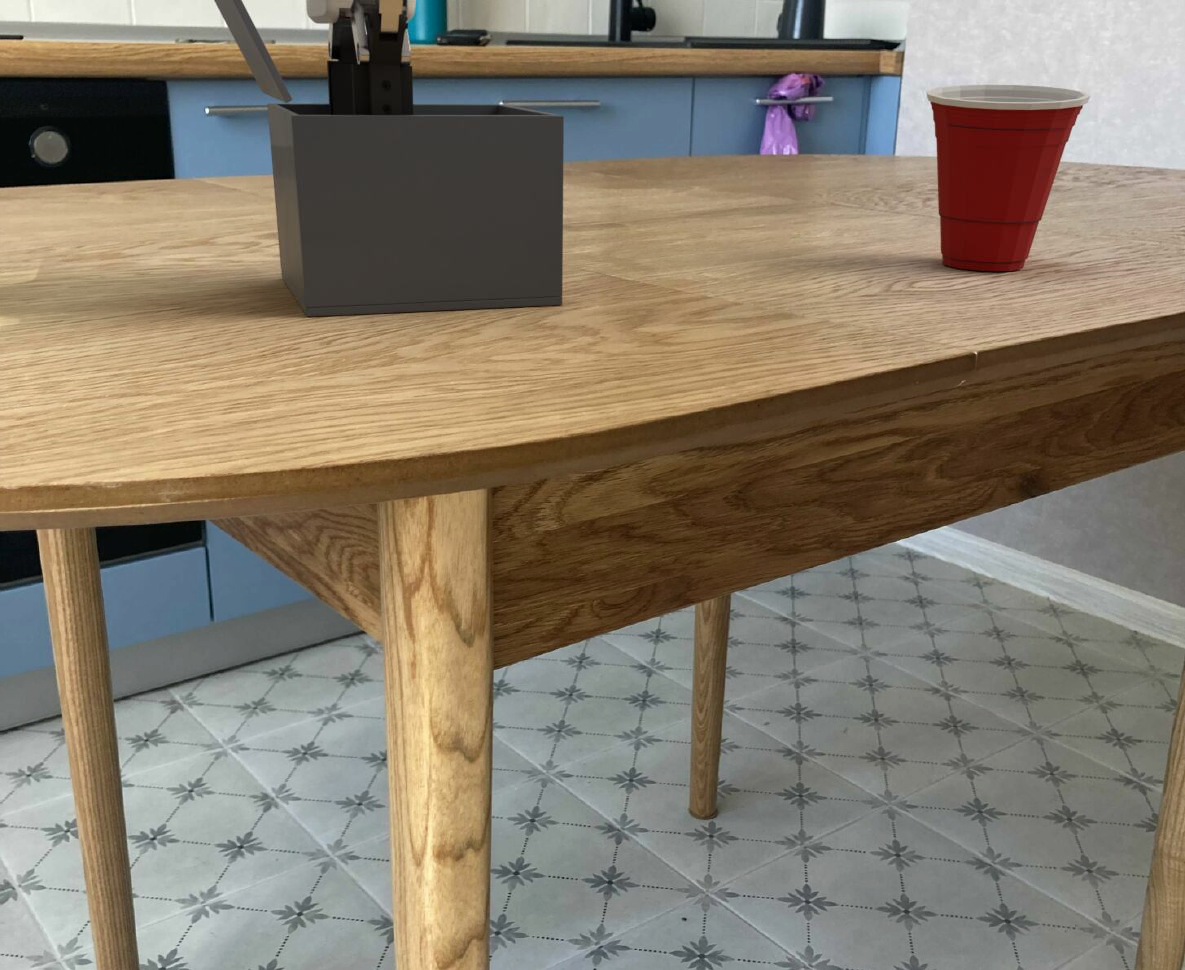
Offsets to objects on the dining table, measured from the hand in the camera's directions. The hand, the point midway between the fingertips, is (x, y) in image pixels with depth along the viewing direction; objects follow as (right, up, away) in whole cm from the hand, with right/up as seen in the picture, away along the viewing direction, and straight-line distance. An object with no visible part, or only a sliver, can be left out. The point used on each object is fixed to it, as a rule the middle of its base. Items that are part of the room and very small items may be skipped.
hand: (370, 136), depth 74 cm
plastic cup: (+41, -3, +17) cm, 45 cm away
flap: (-6, +4, -4) cm, 9 cm away
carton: (+2, -8, +4) cm, 9 cm away
